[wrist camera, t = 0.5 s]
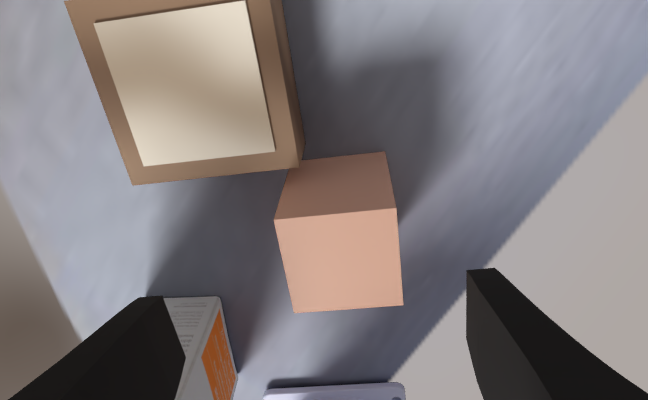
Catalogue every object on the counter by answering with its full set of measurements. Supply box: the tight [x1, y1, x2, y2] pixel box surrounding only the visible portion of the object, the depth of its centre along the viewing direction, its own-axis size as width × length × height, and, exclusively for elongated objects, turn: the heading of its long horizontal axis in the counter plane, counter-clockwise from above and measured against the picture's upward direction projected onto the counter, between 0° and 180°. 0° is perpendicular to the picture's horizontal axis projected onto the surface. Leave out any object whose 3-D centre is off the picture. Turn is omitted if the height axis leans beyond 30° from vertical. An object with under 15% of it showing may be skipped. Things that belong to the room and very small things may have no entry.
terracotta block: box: [274, 151, 403, 313], centre depth 17 cm, size 4×4×5 cm
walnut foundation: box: [64, 0, 306, 185], centre depth 16 cm, size 6×6×3 cm
